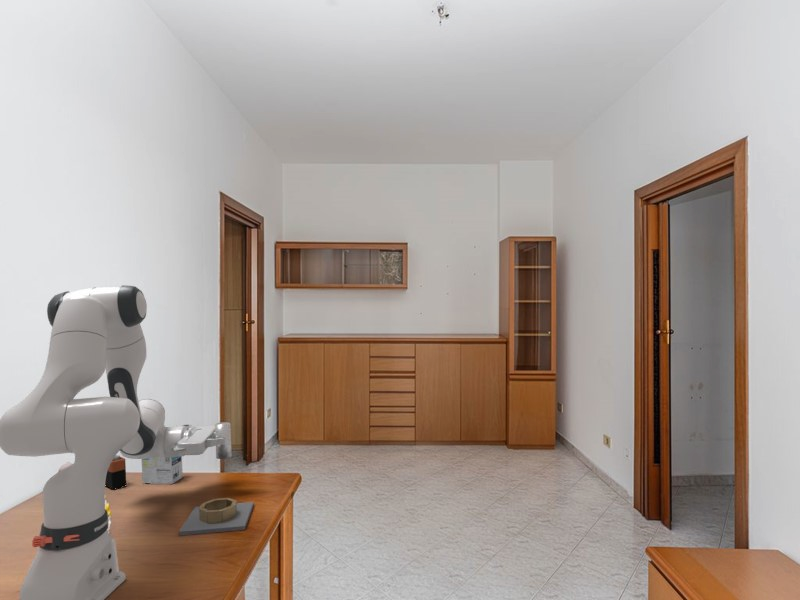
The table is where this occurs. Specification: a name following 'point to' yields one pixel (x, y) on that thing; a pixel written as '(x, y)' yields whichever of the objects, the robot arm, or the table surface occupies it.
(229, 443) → the piston
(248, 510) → the base plate
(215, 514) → the bronze ring
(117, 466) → the battery
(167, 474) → the light bulb box
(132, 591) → the table surface
